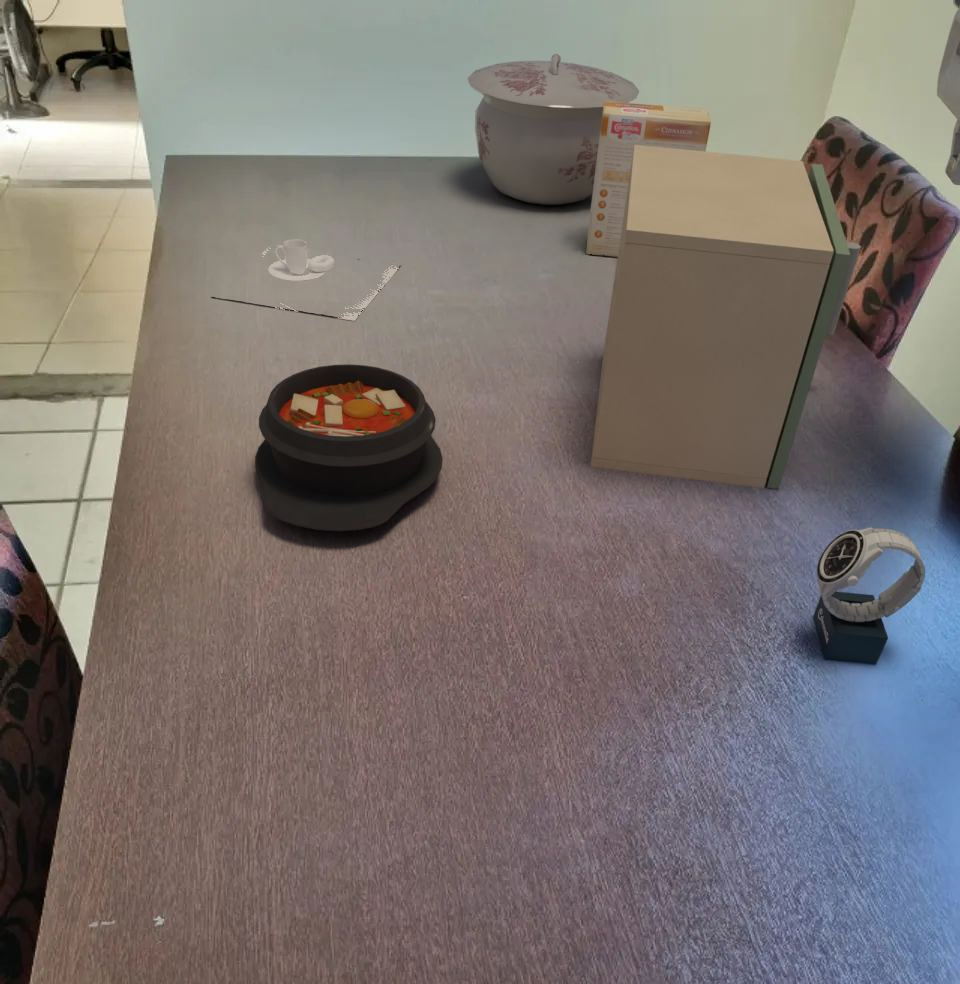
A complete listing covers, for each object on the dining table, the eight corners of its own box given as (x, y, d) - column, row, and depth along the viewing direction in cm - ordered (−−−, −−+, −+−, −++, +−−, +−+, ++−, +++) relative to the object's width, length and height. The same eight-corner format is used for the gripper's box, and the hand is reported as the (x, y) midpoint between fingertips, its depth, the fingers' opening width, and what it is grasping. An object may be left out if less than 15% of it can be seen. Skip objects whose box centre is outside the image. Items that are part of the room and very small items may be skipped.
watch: (790, 615, 85) (826, 511, 78) (882, 624, 85) (927, 521, 78) (800, 659, 81) (840, 553, 74) (897, 668, 81) (946, 563, 74)
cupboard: (748, 372, 120) (803, 160, 103) (764, 489, 100) (834, 250, 84) (603, 356, 121) (634, 144, 105) (590, 467, 102) (626, 229, 85)
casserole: (419, 559, 88) (420, 480, 83) (220, 534, 90) (208, 455, 84) (459, 423, 107) (462, 351, 101) (293, 404, 108) (287, 332, 102)
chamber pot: (514, 229, 152) (526, 80, 138) (435, 176, 169) (438, 39, 155) (658, 208, 163) (682, 68, 149) (570, 160, 180) (583, 31, 166)
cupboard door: (814, 379, 119) (879, 170, 103) (836, 497, 100) (920, 262, 83) (756, 372, 120) (811, 163, 103) (766, 488, 100) (836, 252, 84)
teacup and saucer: (340, 267, 137) (338, 238, 134) (319, 288, 131) (317, 258, 129) (282, 258, 139) (279, 229, 136) (259, 279, 133) (255, 249, 130)
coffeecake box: (682, 247, 150) (709, 107, 137) (685, 264, 145) (713, 121, 132) (586, 238, 151) (603, 98, 138) (585, 255, 146) (603, 111, 133)
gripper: (1105, 27, 70) (1024, 223, 80) (1027, -18, 86) (967, 151, 95) (1015, 19, 71) (945, 215, 80) (954, -24, 86) (901, 145, 95)
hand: (957, 180), depth 88 cm, fingers closed
